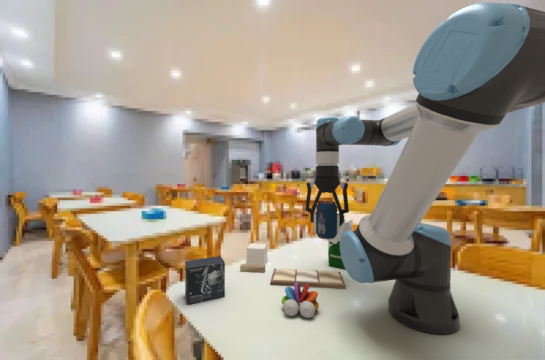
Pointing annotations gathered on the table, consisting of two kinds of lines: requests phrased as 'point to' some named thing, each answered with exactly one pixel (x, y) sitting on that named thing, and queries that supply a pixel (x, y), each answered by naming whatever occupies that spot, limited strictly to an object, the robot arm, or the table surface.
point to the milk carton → (338, 244)
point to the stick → (252, 268)
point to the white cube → (257, 254)
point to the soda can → (326, 220)
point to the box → (204, 279)
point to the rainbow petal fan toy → (300, 301)
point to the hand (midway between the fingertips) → (326, 232)
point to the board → (307, 278)
